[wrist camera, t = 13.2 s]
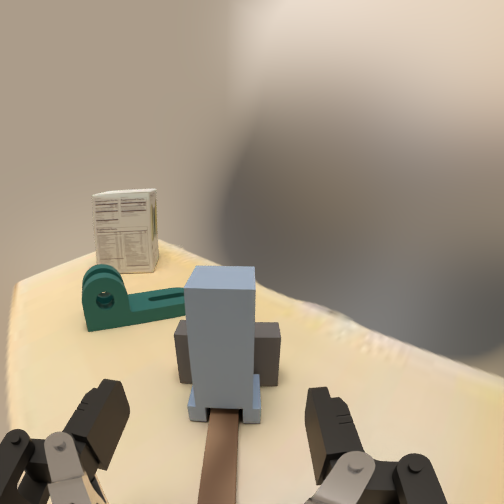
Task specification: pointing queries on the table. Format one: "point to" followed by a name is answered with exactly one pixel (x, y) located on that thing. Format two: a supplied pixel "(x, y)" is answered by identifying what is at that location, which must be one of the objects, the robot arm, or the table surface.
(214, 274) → the block
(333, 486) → the robot arm
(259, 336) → the stop block
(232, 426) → the rail
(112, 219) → the supplement box
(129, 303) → the bracket
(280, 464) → the table surface
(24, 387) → the table surface
